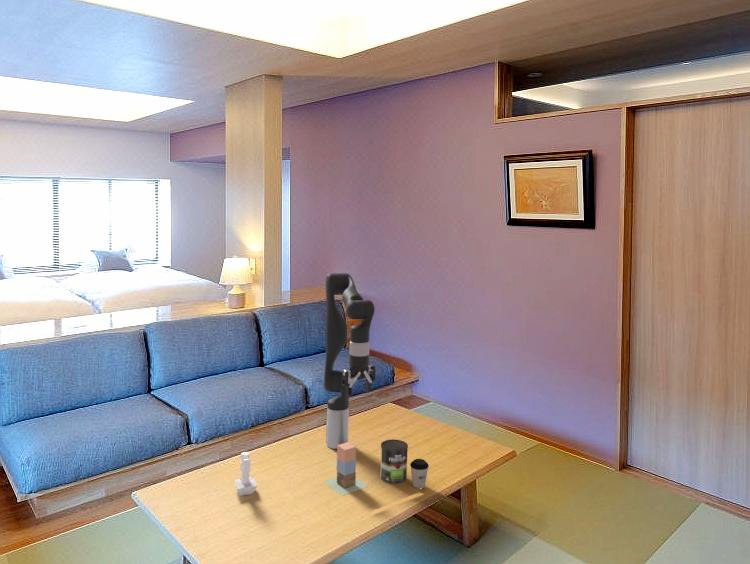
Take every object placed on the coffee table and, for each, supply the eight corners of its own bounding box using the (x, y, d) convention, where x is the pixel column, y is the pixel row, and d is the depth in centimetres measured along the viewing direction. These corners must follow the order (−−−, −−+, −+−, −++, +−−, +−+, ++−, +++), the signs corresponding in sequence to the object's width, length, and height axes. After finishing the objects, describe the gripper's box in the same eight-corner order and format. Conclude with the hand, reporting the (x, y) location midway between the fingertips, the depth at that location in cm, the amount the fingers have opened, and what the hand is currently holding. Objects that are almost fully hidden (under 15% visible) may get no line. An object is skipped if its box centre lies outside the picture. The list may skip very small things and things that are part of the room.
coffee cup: (405, 485, 216) (406, 460, 215) (418, 480, 220) (419, 455, 219) (418, 493, 211) (419, 467, 209) (431, 487, 215) (432, 462, 214)
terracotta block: (337, 458, 213) (337, 445, 213) (348, 454, 216) (348, 442, 216) (344, 463, 209) (344, 450, 209) (355, 459, 212) (356, 446, 212)
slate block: (336, 470, 214) (336, 457, 213) (347, 467, 217) (347, 454, 216) (344, 475, 210) (344, 462, 209) (355, 472, 213) (355, 459, 213)
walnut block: (336, 483, 215) (337, 470, 214) (347, 479, 218) (347, 467, 217) (344, 488, 211) (344, 475, 210) (355, 484, 214) (355, 472, 213)
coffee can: (410, 484, 217) (411, 449, 215) (384, 487, 215) (385, 451, 212) (402, 471, 227) (403, 438, 225) (376, 474, 224) (377, 440, 222)
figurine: (253, 484, 215) (253, 446, 212) (257, 496, 206) (257, 457, 204) (233, 487, 212) (233, 449, 210) (237, 500, 203) (236, 460, 201)
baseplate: (323, 484, 215) (323, 482, 215) (349, 475, 223) (349, 473, 223) (342, 498, 206) (342, 495, 206) (368, 488, 213) (368, 485, 213)
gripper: (349, 357, 208) (349, 400, 210) (380, 352, 217) (379, 393, 219) (338, 353, 214) (337, 395, 216) (368, 347, 223) (367, 388, 225)
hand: (358, 394), depth 218 cm, fingers open, 8 cm apart
